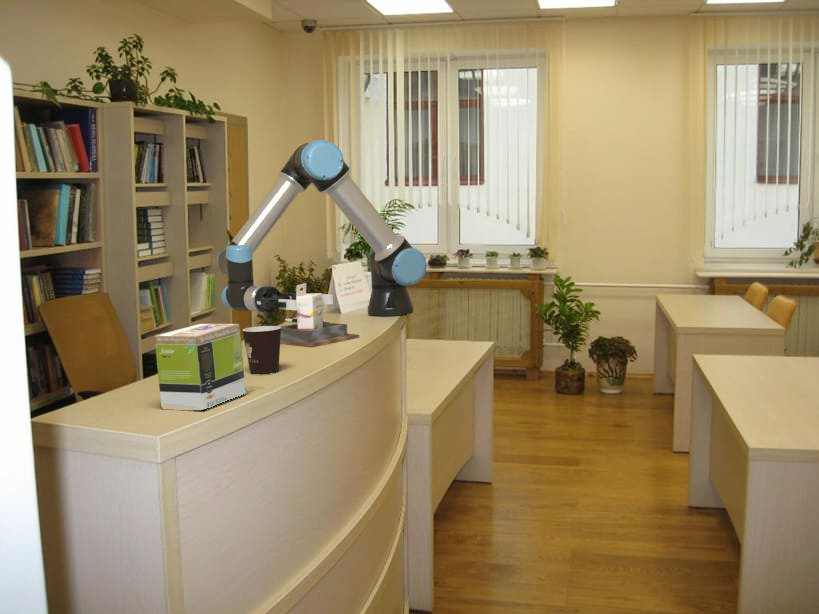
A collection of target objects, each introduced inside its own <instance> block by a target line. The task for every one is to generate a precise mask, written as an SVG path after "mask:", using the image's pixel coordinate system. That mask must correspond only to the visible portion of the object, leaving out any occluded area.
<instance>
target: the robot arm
mask: <svg viewBox="0 0 819 614" xmlns="http://www.w3.org/2000/svg"><path fill="white" fill-rule="evenodd" d="M350 172H351V171H350V167H349V165H348V164H347V163H346V162H345V160H344V156H343V152H342V150H341V149H340V148H339V146H337V145H336V144H335V143H334V142H331V141H328V140H325V139H324V140H323V139H316V140H313V141H311V142H307V143H303V144H301V145H300V146H298V147H297V148H296V149H295V150H294V151H293V153H292V154H291V156H290V157H289V159H288V160H287V161H286V163H285V165H284V166H283V167H282V169H281V170H280V172H279V173H278V174H279V178H278V179H277V181H276V182H275V184H273V186H272V187H271V188H270V190H269V191H268V193H267V194H266V195H265V197H264V198H263V199H262V200H261V201H260V203H259V205H257V207H256V209H255V210H254V211H253V212H252V214H251V215H250V216H249V218H248V219H247V220H246V221H245V223H244V225H243V226H242V227H241V229H239V230H238V232H237V234H236V235H234V237H233V239H232V240H231V241H230V243H229V244H228V245H227V246H226V248H225V249H224V250H222V251H221V252H220V253H218V255H217V257H216V265H217V268H218V269H219V270H220V272H222V273H223V274H225V275H227V285H226V286H225V287H224V288H223V290H222V293H221V303H222V304H223V306H224V307H225V308H226V309H229V310H234V311H238V312H255V314H257V315H259V314H260V313H267V314H268V313H269V314H272V313H277V312H279V310H282V311H283V310H284V311H285V310H288V311H297V300H296V292H295V293H294V292H288V293H286V292H281V291H280V290H279V289H278V288H276V287H275V286H264V285H254V284H255V283H254V281H255V280H254V265H253V264H254V263H253V257H254V256H253V254H254V253H255V252H256V250H258V247H259V246H260V245H261V244H262V243H263V241H264V240H265V238H266V237H267V236H268V235H269V234H270V232H271V230H272V229H273V228H274V227H275V225H276V224H277V223H278V221H279V220H280V219H281V218H282V216H283V215H284V213H285V212H286V211H287V209H288V208H289V207H290V205H291V204H292V203H293V202H294V200H295V199H296V197H298V195H299V194H300V193H305V191H306V190H307V189H308V187H310V186H311V184H312V185H313V186H314V187H315V189H316V190H317V191H318V192H319V193H320V194H327V196H329V198H330V199H331V200H332V201H333V203H334V204H335V206H337V207H338V209H339V210H340V211H341V212H342V214H344V216H345V217H346V219H347V220H348V221H349V222H350V223H351V225H352V226H353V227H354V228H355V230H356V231H357V232H358V233H359V235H361V237H362V239H364V240H365V242H366V243H367V244H368V245H369V247H370V249H369V250H370V252H369V253H370V254H369V258H370V260H369V262H370V277H371V280H370V281H371V282H370V283H371V293H370V298H369V303H368V306H367V315H368V314H369V315H368V316H372V315H375V316H374V317H392V316H393V317H395V316H405V315H409V314H413V313H414V305H413V303H412V301H411V300H412V299H411V297H410V294H409V291H408V286H413V285H416V284H417V283H419V282H420V281H421V280H423V277H425V274H426V271H427V259H426V257H425V255H424V253H423V252H421V251H420V250H419V249H417V248H415V247H413V246H412V244H410V242H409V241H408V240H407V239H406V237H405V236H404V235H397V234H396V232H395V231H394V230H393V229H392V227H391V226H390V225H389V224H388V222H387V221H386V220H385V219H384V218H383V216H382V215H381V214H380V213H379V211H378V210H377V209H376V208H375V206H374V205H373V204H372V202H371V201H370V200H369V199H368V198H367V196H366V195H365V193H363V191H362V190H361V189H360V188H359V186H358V185H357V183H355V181H354V179H352V177H351V176H350ZM314 293H319V290H317V291H315V292H313V293H312V292H310V293H307V292H306V294H314ZM322 305H334V295H333V294H331V293H330V294H329V293H328V294H327V293H322Z"/></svg>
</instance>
